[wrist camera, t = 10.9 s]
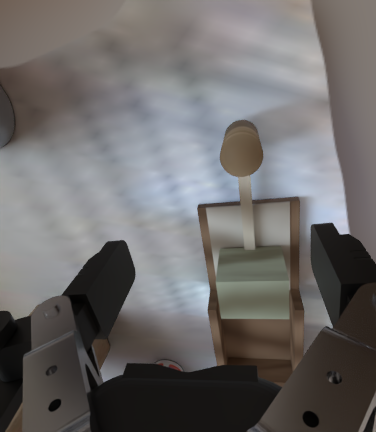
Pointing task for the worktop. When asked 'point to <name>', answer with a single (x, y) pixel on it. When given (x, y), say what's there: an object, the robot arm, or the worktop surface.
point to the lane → (256, 328)
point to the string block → (249, 242)
